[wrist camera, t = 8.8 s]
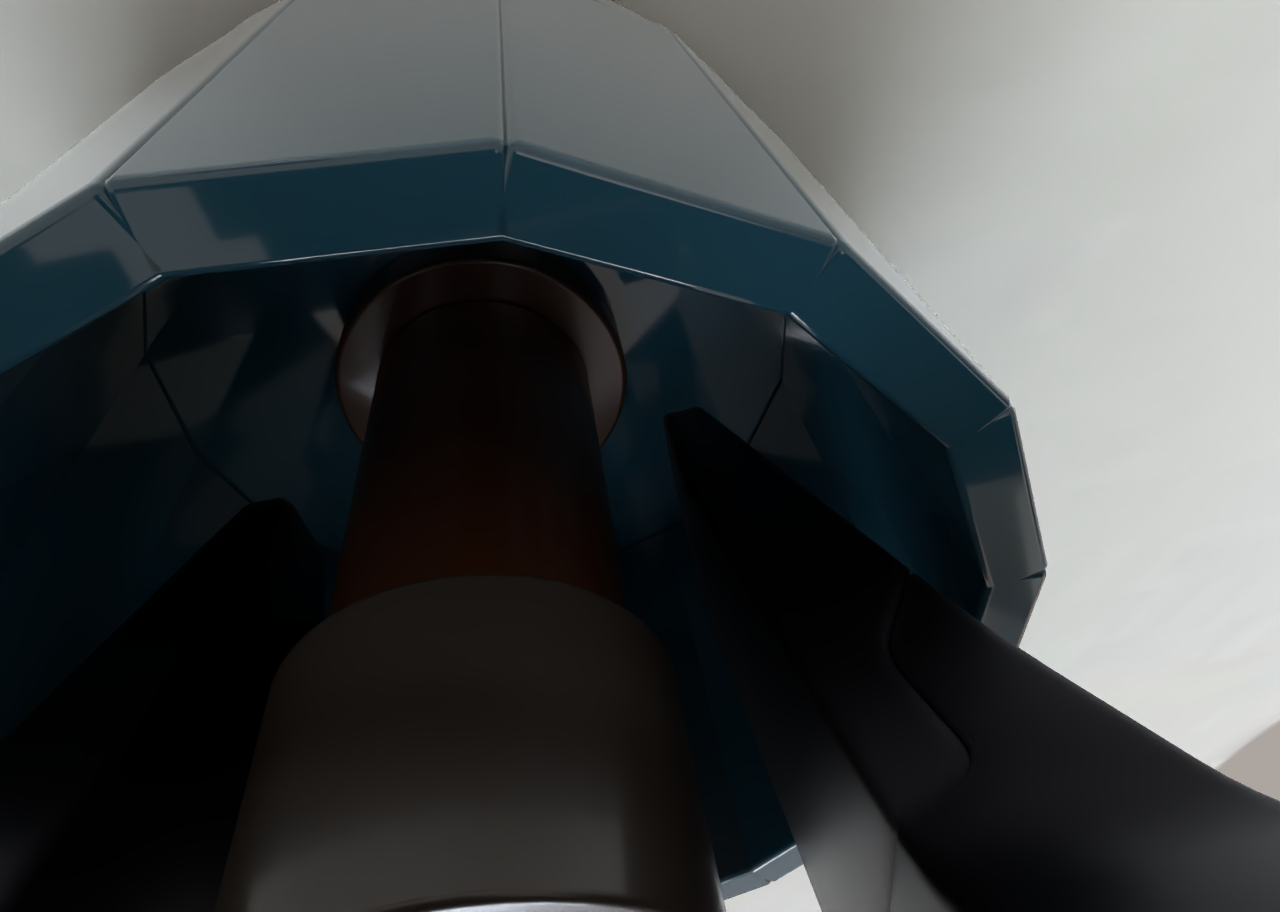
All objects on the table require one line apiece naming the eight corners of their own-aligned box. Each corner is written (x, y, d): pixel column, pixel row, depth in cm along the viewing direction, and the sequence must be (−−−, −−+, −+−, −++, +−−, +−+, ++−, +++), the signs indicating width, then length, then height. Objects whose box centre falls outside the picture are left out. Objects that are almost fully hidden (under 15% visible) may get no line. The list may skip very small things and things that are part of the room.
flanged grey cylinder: (515, 508, 12) (535, 1126, 6) (286, 391, 10) (35, 1103, 5) (675, 343, 11) (885, 946, 5) (445, 173, 9) (364, 811, 3)
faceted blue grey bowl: (546, 637, 15) (571, 1004, 10) (1, 403, 11) (-384, 866, 6) (933, 289, 12) (1229, 611, 7) (359, -284, 7) (106, -467, 2)
